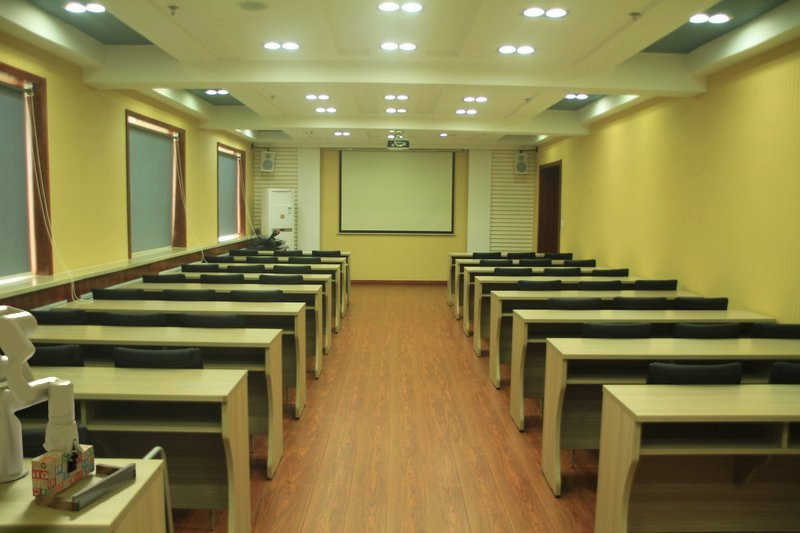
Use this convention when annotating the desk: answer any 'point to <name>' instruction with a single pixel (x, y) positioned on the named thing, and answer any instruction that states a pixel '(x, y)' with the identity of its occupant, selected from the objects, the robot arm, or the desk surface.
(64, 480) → the stack of blocks
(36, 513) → the desk surface
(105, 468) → the u-shaped fence
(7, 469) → the robot arm
